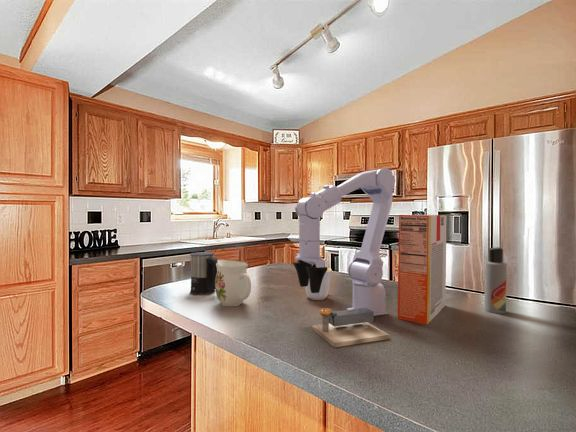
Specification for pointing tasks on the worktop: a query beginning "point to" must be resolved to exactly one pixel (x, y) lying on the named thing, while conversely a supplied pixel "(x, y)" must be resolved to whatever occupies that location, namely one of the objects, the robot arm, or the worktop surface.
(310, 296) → the mug
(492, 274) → the lotion bottle
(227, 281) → the pitcher
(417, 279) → the cereal box
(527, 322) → the worktop surface
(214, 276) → the milk frother
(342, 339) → the tan piece
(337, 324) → the swing bar
